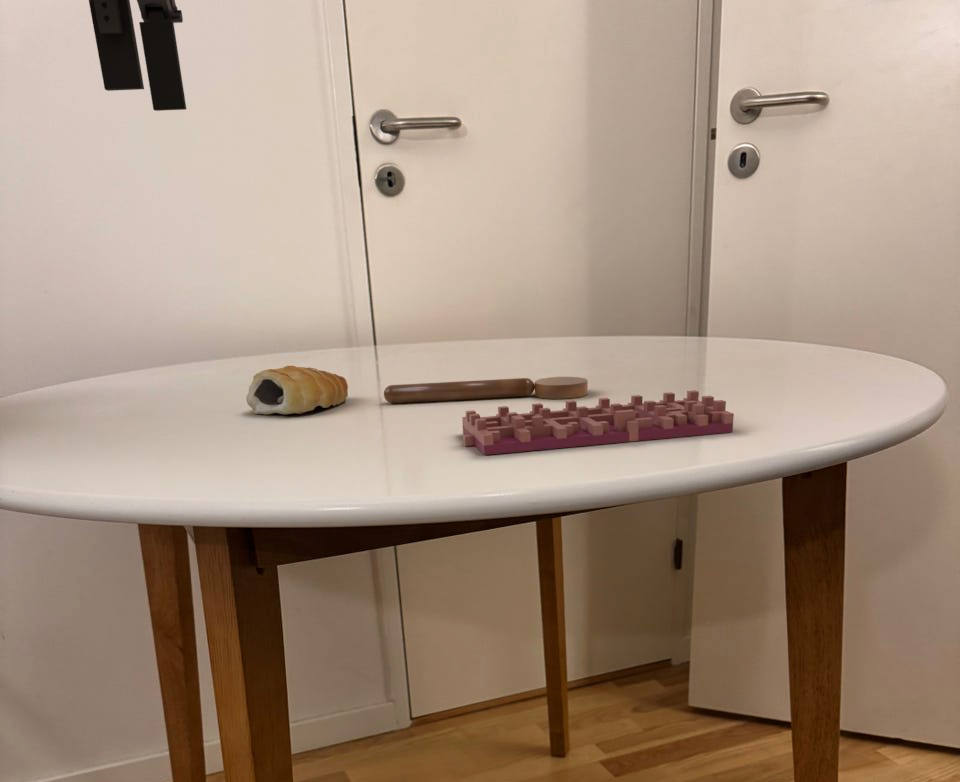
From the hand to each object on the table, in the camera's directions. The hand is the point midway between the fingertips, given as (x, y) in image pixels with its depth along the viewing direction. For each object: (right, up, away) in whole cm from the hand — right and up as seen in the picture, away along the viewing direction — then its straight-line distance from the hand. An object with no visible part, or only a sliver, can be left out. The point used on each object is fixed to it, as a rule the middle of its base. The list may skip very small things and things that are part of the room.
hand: (149, 101), depth 76 cm
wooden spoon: (+27, -22, +8) cm, 36 cm away
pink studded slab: (+35, -29, -7) cm, 46 cm away
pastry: (+11, -23, +8) cm, 27 cm away
